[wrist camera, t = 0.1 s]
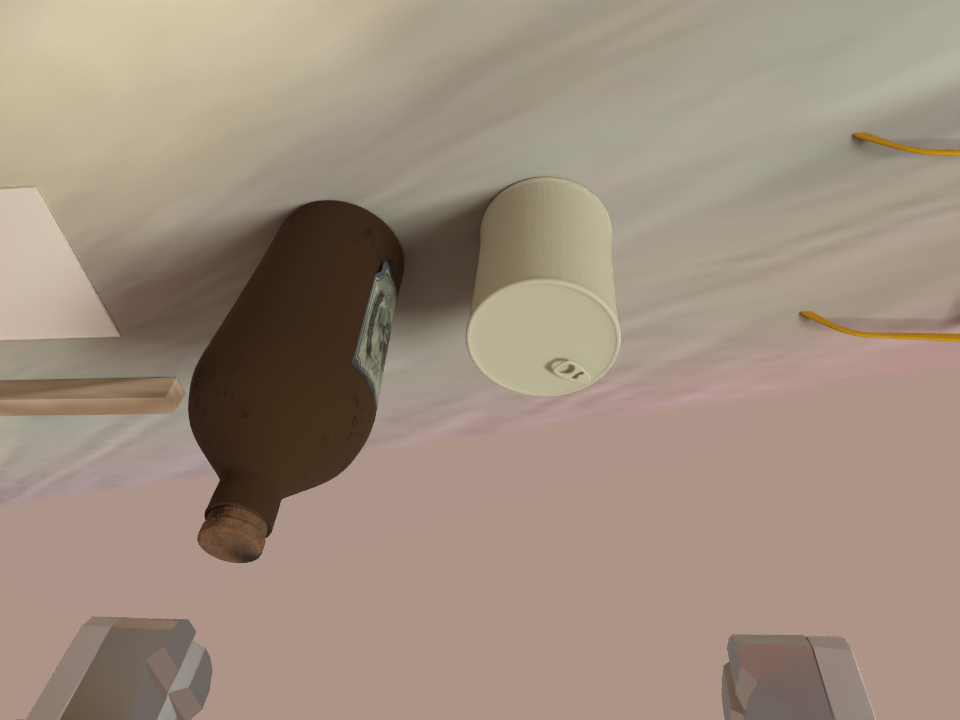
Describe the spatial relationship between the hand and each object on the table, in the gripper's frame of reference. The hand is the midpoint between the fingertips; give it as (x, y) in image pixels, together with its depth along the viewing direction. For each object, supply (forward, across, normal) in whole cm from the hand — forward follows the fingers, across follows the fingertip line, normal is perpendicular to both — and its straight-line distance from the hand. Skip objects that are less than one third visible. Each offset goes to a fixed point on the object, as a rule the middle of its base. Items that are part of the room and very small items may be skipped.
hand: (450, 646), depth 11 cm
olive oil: (+41, +15, +15) cm, 46 cm away
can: (+41, 0, +14) cm, 43 cm away
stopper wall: (+42, +43, +28) cm, 66 cm away
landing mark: (+40, +43, +15) cm, 61 cm away
